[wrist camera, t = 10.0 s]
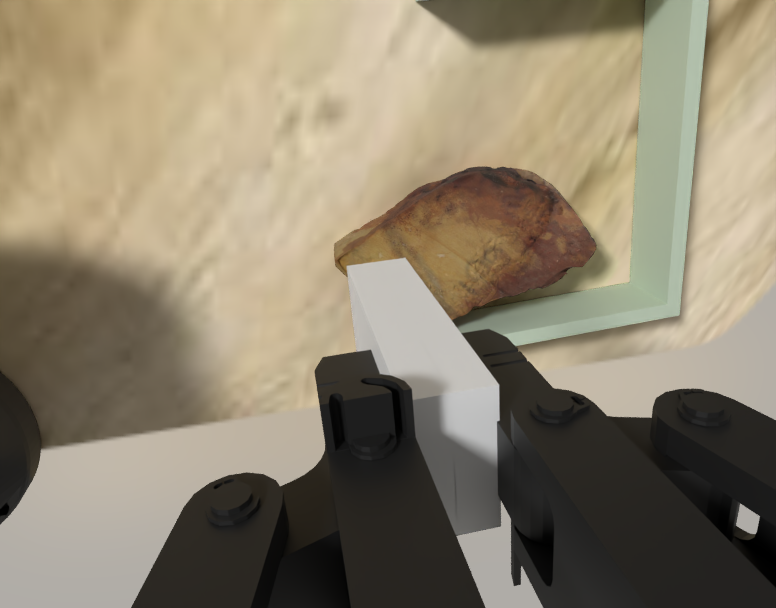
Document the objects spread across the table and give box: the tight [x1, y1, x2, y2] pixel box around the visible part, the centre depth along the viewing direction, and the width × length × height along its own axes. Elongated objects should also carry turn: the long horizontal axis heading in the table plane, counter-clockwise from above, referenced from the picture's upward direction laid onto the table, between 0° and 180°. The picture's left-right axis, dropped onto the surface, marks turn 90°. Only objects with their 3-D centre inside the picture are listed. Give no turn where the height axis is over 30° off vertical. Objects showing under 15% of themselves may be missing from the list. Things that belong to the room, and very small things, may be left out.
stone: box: [334, 167, 596, 320], centre depth 37 cm, size 15×9×5 cm, turn 116°
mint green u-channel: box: [416, 0, 709, 346], centre depth 36 cm, size 16×22×4 cm
